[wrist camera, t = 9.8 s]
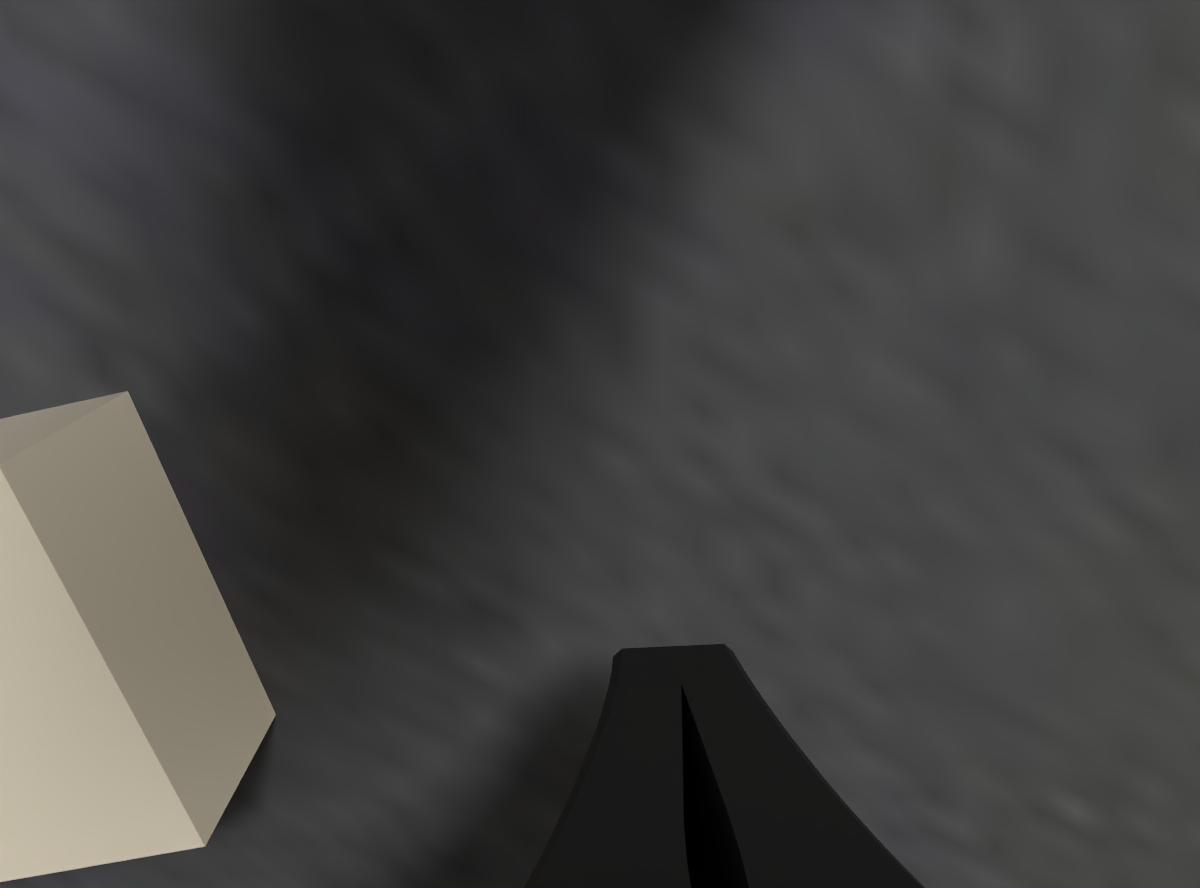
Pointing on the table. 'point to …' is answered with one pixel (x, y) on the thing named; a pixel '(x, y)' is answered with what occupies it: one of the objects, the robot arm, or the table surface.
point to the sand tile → (110, 651)
